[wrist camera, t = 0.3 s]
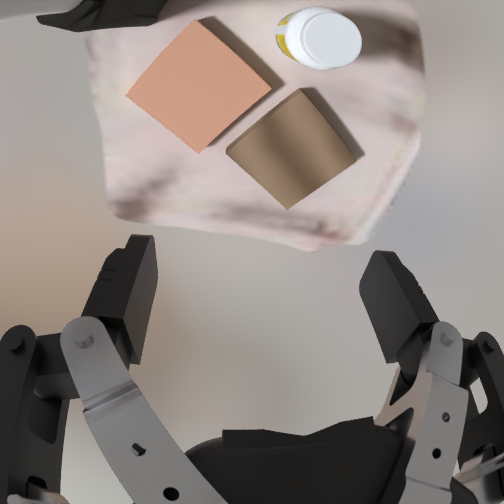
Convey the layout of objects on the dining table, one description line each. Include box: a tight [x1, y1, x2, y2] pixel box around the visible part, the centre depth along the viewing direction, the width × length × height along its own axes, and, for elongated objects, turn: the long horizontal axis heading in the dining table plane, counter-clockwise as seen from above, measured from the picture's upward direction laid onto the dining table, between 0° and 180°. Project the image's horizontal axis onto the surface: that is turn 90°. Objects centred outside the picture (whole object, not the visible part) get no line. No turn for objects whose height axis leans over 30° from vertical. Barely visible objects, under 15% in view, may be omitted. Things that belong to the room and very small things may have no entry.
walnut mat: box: [226, 89, 357, 210], centre depth 29 cm, size 10×10×2 cm
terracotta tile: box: [126, 20, 272, 154], centre depth 24 cm, size 10×10×2 cm
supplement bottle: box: [275, 7, 362, 70], centre depth 17 cm, size 5×5×10 cm
